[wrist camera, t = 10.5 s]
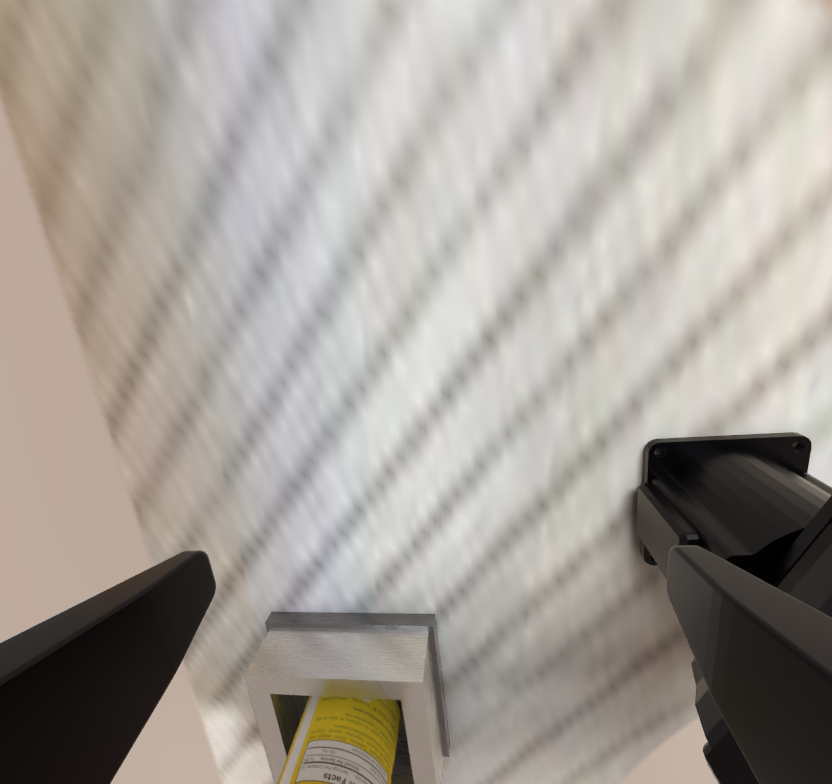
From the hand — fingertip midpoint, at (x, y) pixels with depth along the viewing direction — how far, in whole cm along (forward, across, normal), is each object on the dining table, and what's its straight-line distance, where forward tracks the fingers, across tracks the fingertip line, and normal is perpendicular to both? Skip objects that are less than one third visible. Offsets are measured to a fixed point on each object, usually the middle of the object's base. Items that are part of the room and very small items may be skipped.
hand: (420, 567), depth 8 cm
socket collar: (+12, +7, +18) cm, 23 cm away
